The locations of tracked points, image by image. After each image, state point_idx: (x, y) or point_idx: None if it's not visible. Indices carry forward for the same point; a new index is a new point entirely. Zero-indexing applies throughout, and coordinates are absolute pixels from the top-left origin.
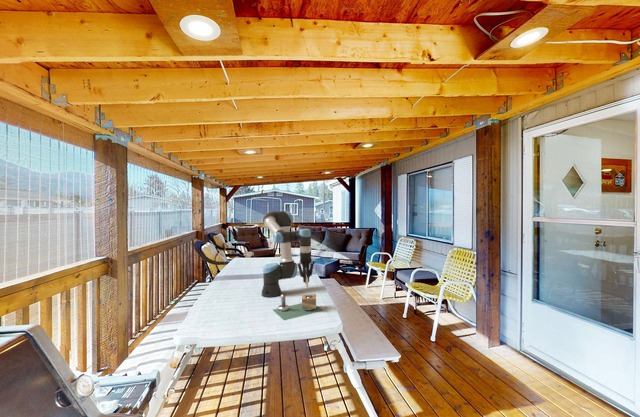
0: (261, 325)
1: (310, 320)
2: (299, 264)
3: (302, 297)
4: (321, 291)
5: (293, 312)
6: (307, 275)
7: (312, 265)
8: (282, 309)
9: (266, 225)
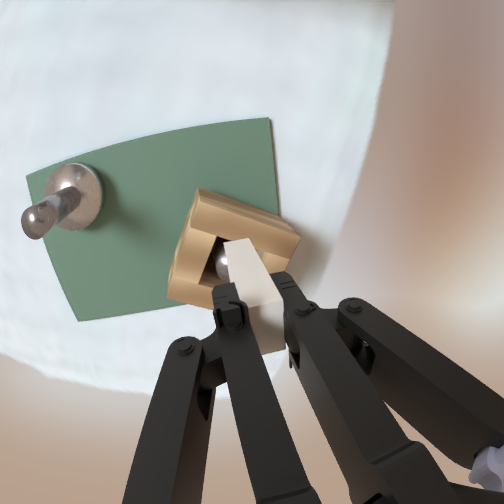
0: (10, 315)
1: None
2: None
3: (179, 265)
4: (389, 15)
5: (122, 254)
6: (298, 346)
7: (454, 448)
8: (64, 226)
9: None
